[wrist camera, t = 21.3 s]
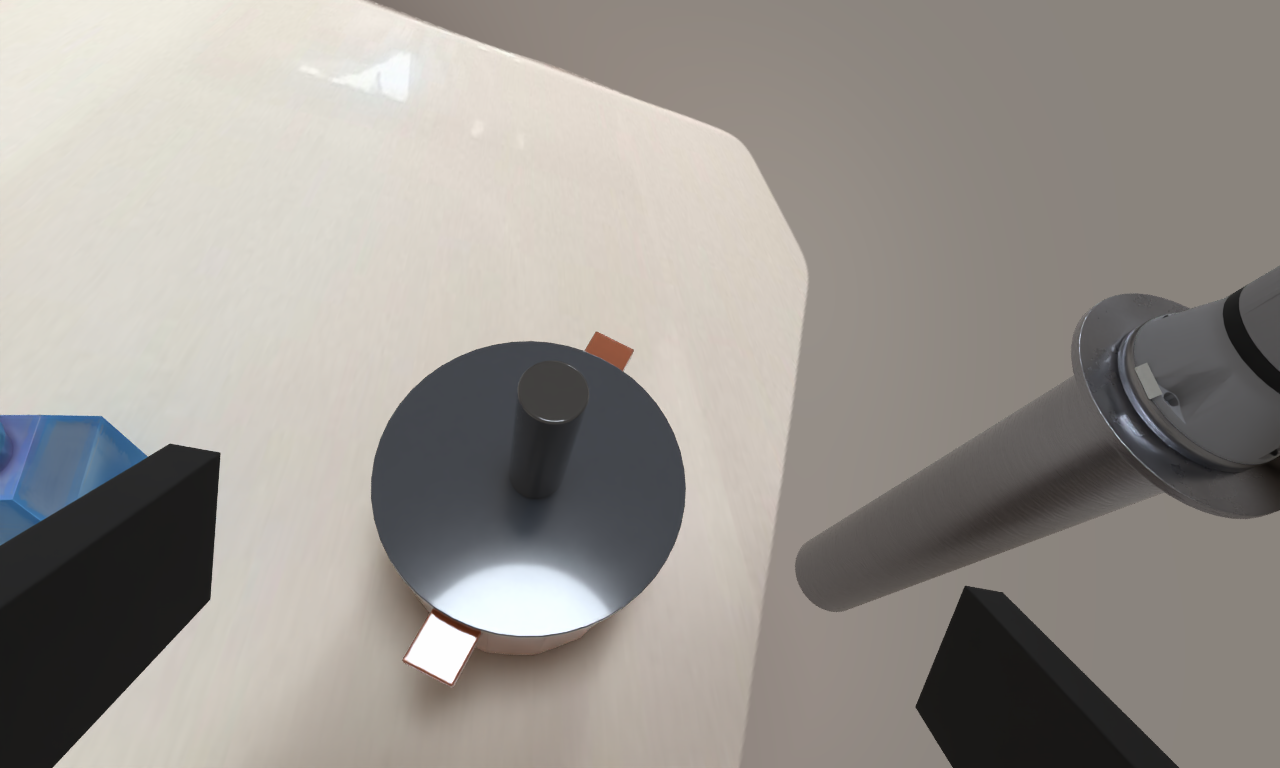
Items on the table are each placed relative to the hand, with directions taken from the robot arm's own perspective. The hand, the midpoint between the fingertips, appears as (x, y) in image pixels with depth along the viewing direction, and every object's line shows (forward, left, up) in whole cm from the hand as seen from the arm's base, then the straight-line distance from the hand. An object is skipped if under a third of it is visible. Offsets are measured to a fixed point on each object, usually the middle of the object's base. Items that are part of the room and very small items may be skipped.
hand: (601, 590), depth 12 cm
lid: (+4, -8, -19) cm, 21 cm away
